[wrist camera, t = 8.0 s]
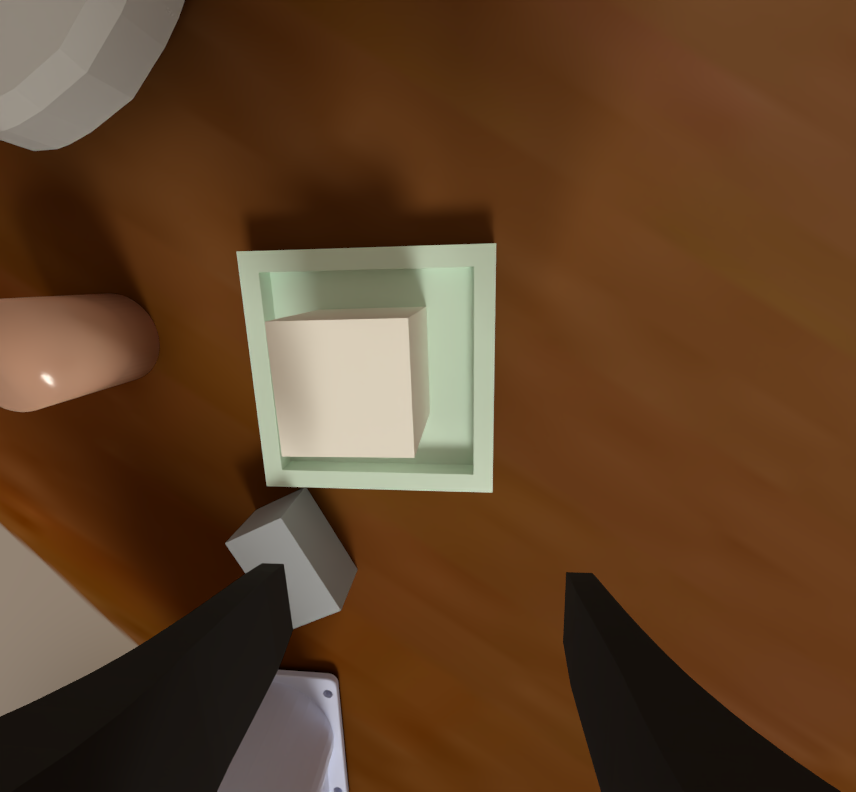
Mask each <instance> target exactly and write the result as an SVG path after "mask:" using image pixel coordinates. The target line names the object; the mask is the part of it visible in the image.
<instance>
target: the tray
mask: <svg viewBox="0 0 856 792" xmlns="http://www.w3.org/2000/svg"><path fill="white" fill-rule="evenodd" d="M237 260H238V267H239V275H240V283H241V291H242V298H243V306H244V314H245V322H246V329H247V337H248V345H249V353H250V361H251V368H252V376H253V384H254V392H255V399H256V407H257V415H258V423H259V430H260V438H261V446H262V454H263V461H264V469H265V477H266V485H267V486H277V487H313V488H349V489H385V490H421V491H457V492H492V489H493V422H494V355H495V288H496V243H489V244H458V245H427V246H396V247H364V248H333V249H302V250H271V251H240V252H237ZM424 306H426V309H427V338H428V367H429V395H430V414H429V417H428V420H427V423H426V426H425V429H424V432H423V434H422V437H421V440H420V443H419V446H418V449H417V452H416V455H415V458H377V457H282V453H281V446H280V438H279V430H278V422H277V414H276V407H275V399H274V391H273V383H272V375H271V368H270V360H269V352H268V344H267V336H266V328H265V321H270V320H274V319H279V318H283V317H288V316H292V315H297V314H301V313H306V312H310V311H315V310H319V309H354V308H389V307H424Z"/></svg>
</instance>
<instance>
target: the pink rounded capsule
mask: <svg viewBox="0 0 856 792" xmlns="http://www.w3.org/2000/svg"><path fill="white" fill-rule="evenodd" d="M159 348H160V343H159V336H158V332H157V329H156V327H155V324H154V322H153V320H152V319H151V317H150V316H149V314H148V313H147V312H146V311H145V310H144V309H143V308H142V307H141V306H140V305H139V304H138V303H136V302H135V301H133V300H132V299H130V298H128V297H126V296H123V295H120V294H114V293H105V294H85V295H65V296H45V297H25V298H5V299H0V407H2V408H5V409H8V410H11V411H16V412H30V411H35V410H38V409H41V408H45V407H48V406H51V405H55V404H58V403H61V402H64V401H68V400H71V399H74V398H77V397H81V396H84V395H87V394H90V393H94V392H97V391H100V390H103V389H107V388H110V387H113V386H116V385H120V384H123V383H126V382H129V381H133V380H136V379H139V378H141V377H143V376H145V375H146V374H148V373H149V372H150V371H151V370H152V368H153V367H154V365H155V364H156V361H157V359H158V355H159Z"/></svg>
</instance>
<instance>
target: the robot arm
mask: <svg viewBox="0 0 856 792" xmlns="http://www.w3.org/2000/svg"><path fill="white" fill-rule="evenodd" d="M292 631H293V625H292V618H291V611H290V604H289V597H288V590H287V583H286V576H285V569H284V564H271V563H261V564H260V565H258V566H257V567H255V568H253V569H252V570H250V571H249V572H247V573H246V574H244V575H243V576H242V577H240V578H239V579H237V580H236V581H235V582H233V583H232V584H230V585H229V586H227V587H226V588H225V589H223V590H222V591H220V592H219V593H218V594H216V595H215V596H213V597H212V598H210V599H209V600H208V601H206V602H205V603H203V604H202V605H201V606H199V607H198V608H196V609H195V610H193V611H192V612H190V613H189V614H188V615H186V616H184V617H183V618H181V619H180V620H178V621H177V622H175V623H174V624H172V625H171V626H169V627H168V628H166V629H165V630H163V631H161V632H160V633H158V634H157V635H155V636H154V637H152V638H151V639H149V640H148V641H146V642H144V643H143V644H141V645H140V646H138V647H136V648H135V649H133V650H131V651H129V652H128V653H126V654H125V655H123V656H121V657H119V658H118V659H116V660H114V661H112V662H110V663H108V664H107V665H105V666H103V667H101V668H99V669H98V670H96V671H94V672H92V673H90V674H88V675H86V676H84V677H82V678H80V679H79V680H76V681H74V682H72V683H70V684H68V685H67V686H64V687H62V688H60V689H58V690H56V691H54V692H52V693H50V694H48V695H46V696H44V697H42V698H40V699H38V700H36V701H34V702H32V703H30V704H27V705H26V706H23V707H21V708H19V709H16V710H14V711H12V712H10V713H7V714H5V715H3V716H1V717H0V792H349V789H348V779H347V768H346V757H345V747H344V736H343V726H342V715H341V705H340V694H339V684H338V679H337V678H336V676H334V675H333V674H330V673H318V672H305V671H291V670H278V669H279V666H280V664H281V661H282V659H283V656H284V653H285V651H286V648H287V645H288V642H289V639H290V637H291V634H292ZM563 644H564V649H565V655H566V661H567V667H568V673H569V678H570V684H571V688H572V692H573V695H574V699H575V702H576V706H577V710H578V713H579V717H580V720H581V724H582V727H583V731H584V734H585V737H586V741H587V744H588V748H589V751H590V755H591V758H592V762H593V765H594V769H595V772H596V776H597V779H598V783H599V786H600V790H601V792H841V791H839V790H838V789H836V788H835V787H833V786H831V785H830V784H828V783H827V782H825V781H824V780H822V779H821V778H819V777H818V776H817V775H815V774H814V773H812V772H811V771H809V770H808V769H807V768H805V767H804V766H802V765H801V764H799V763H798V762H796V761H795V760H794V759H792V758H791V757H789V756H788V755H787V754H785V753H784V752H783V751H781V750H780V749H779V748H777V747H776V746H775V745H773V744H772V743H771V742H769V741H768V740H767V739H765V738H764V737H763V736H761V735H760V734H759V733H757V732H756V731H754V730H753V729H752V728H751V727H749V726H748V725H747V724H745V723H744V722H743V721H742V720H740V719H739V718H738V717H737V716H735V715H734V714H733V713H732V712H730V711H729V710H728V709H727V708H726V707H724V706H723V705H722V704H721V703H720V702H718V701H717V700H716V699H715V698H714V697H713V696H711V695H710V694H709V693H708V692H707V691H705V690H704V689H703V688H702V687H701V686H700V685H698V684H697V683H696V682H695V681H694V680H693V679H692V678H691V677H689V676H688V675H687V674H686V673H685V672H684V671H683V670H682V669H681V668H680V667H679V666H678V665H677V664H676V663H675V662H674V661H673V660H672V659H671V658H670V657H668V656H667V655H666V654H665V653H664V652H663V651H662V649H661V648H660V647H659V646H658V645H657V644H656V643H655V642H654V641H653V640H652V639H651V638H650V637H649V636H648V635H647V634H646V633H645V632H644V631H643V630H642V629H641V628H640V627H639V625H638V624H637V623H636V622H635V621H634V620H633V619H632V618H631V617H630V616H629V615H628V613H627V612H626V611H625V610H624V609H623V608H622V607H621V606H620V604H619V603H618V602H617V601H616V600H615V599H614V598H613V596H612V595H611V594H610V593H609V592H608V591H607V589H606V588H605V587H604V586H603V585H602V583H601V582H600V581H599V580H598V579H597V578H596V577H595V576H594V575H593V574H592V573H569V572H566V590H565V613H564V636H563ZM328 690H329V691H328Z"/></svg>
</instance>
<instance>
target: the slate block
mask: <svg viewBox="0 0 856 792" xmlns="http://www.w3.org/2000/svg"><path fill="white" fill-rule="evenodd" d="M225 544H226V546H227V547H228V549H229V550H230V552H231V553H232V554H233V556H234V557H235V559H236V560H237V562H238V563H239V565H240V566H241V568H242V569H243V571H244V572H245V573H247V572H249V571H250V570H252V569H253V568H255V567H257V566H258V565H260V564H261V563H271V564H284V569H285V576H286V583H287V590H288V597H289V604H290V611H291V618H292V625H293V629H294V628H297V627H300V626H302V625H305V624H307V623H310V622H312V621H315V620H318V619H320V618H323V617H325V616H328V615H331V614H333V613H336V612H338V611H341V609H342V606H343V604H344V602H345V599H346V597H347V594H348V592H349V589H350V587H351V584H352V582H353V579H354V577H355V574H356V572H357V568H356V566H355V565H354V563H353V561H352V560H351V558H350V557H349V555H348V553H347V552H346V550H345V549H344V547H343V545H342V544H341V542H340V540H339V539H338V537H337V536H336V534H335V532H334V531H333V529H332V528H331V526H330V524H329V523H328V521H327V520H326V518H325V516H324V515H323V513H322V512H321V510H320V508H319V507H318V505H317V504H316V502H315V500H314V499H313V497H312V495H311V494H310V492H309V491H308V489H307V487H304V488H302V489H300V490H298V491H295V492H293V493H291V494H289V495H287V496H285V497H283V498H280V499H278V500H276V501H274V502H272V503H270V504H268V505H266V506H263V507H261V508H259V509H257V510H256V511H255V512H254V513H253V514H252V515H251V516H250V517H249V518H248V519H247V520H246V521H245V522H244V523H243V524H242V526H241V527H240V528H239V529H238V530H237V531H236V532H235V533H234V534H233V535H232V536H231V537H230V538H229V539H228V541H227V542H226V543H225Z"/></svg>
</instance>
